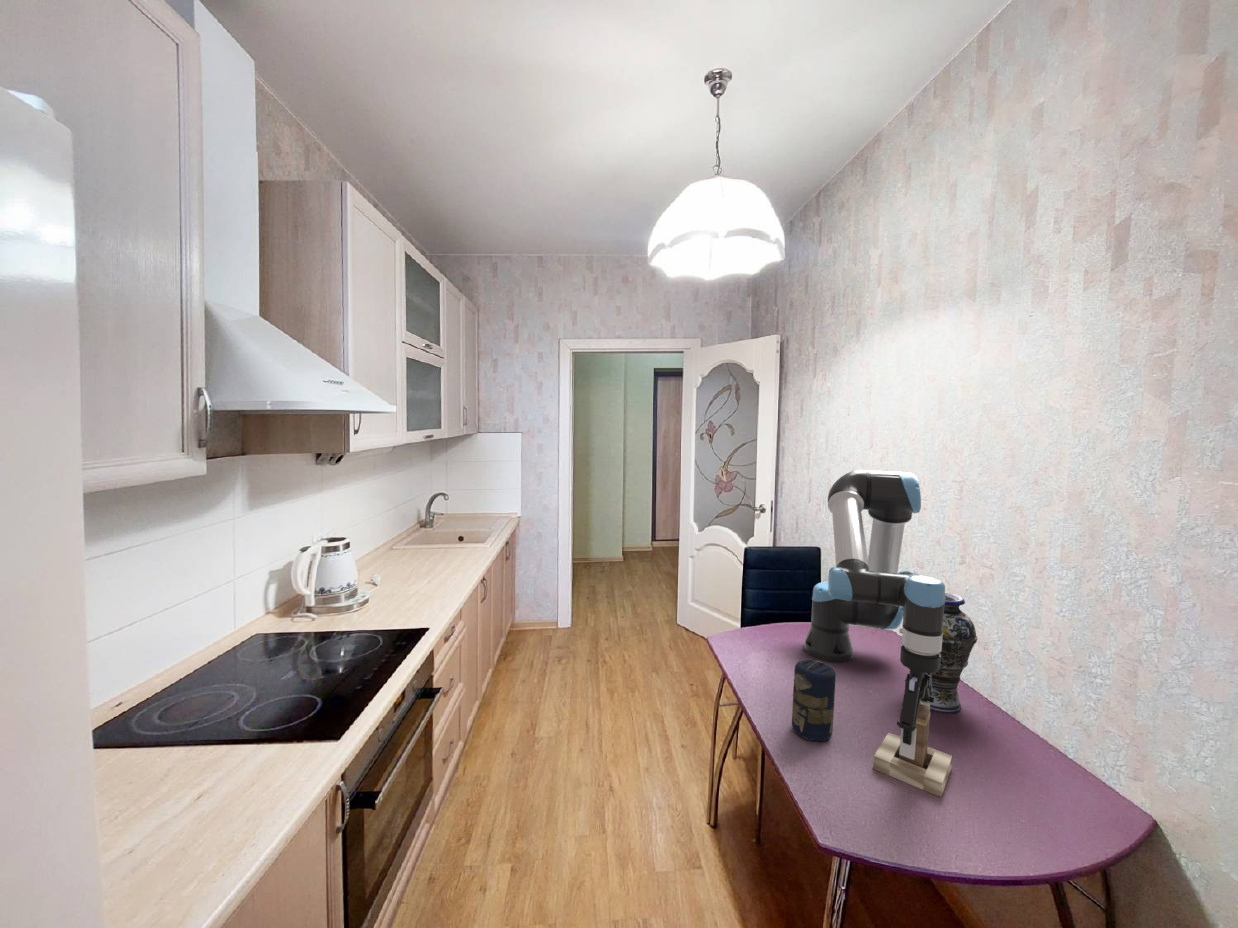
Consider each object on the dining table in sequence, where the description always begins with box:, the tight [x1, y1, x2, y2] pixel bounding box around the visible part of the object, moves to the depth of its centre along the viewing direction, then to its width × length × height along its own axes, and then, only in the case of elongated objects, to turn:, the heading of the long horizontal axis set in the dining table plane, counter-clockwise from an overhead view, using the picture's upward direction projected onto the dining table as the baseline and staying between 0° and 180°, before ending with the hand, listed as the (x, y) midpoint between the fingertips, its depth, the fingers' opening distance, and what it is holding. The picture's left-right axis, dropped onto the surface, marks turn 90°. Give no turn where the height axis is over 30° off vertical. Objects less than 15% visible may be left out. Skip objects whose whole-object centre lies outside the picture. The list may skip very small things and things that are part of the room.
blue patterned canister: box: [791, 658, 837, 742], centre depth 128 cm, size 10×10×18 cm
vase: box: [928, 591, 978, 714], centre depth 143 cm, size 17×17×30 cm
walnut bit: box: [899, 704, 931, 769], centre depth 116 cm, size 5×5×14 cm
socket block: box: [872, 732, 953, 798], centre depth 116 cm, size 12×13×3 cm
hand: (914, 741), depth 116 cm, fingers open, 13 cm apart
